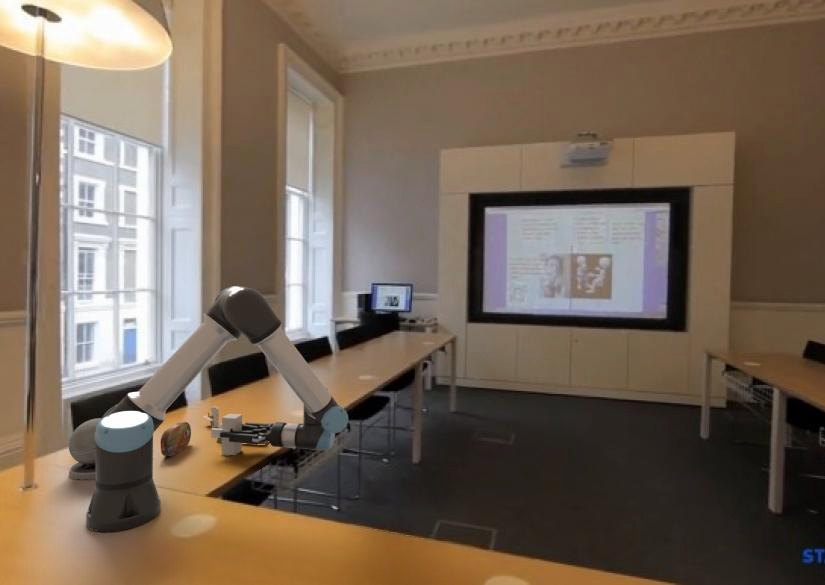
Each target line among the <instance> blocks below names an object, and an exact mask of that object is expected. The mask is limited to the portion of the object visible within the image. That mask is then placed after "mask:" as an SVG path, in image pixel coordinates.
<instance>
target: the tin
mask: <svg viewBox="0 0 825 585" xmlns="http://www.w3.org/2000/svg"><path fill="white" fill-rule="evenodd" d="M191 437H192V429H191V424H189V423H188V422H187V421H184V422H177V423H175V424H173V425H172V426H171V427H170V428H168V429H166V430H164V431H163V433H162V435H161V438H160V452H161V455H162V456H164V457H175V456H176V455H178V454H179V453H181V450H184V449H185V447H186V448H187V447H188V446H189V443H190V441H191ZM177 453H178V454H177Z"/></svg>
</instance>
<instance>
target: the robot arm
mask: <svg viewBox="0 0 825 585" xmlns="http://www.w3.org/2000/svg"><path fill="white" fill-rule="evenodd" d="M282 326H283V322H282V321H281V320H280V318H279V317H278V316H277V314H276V313H275V311H274V310H273V308H272V307H271V305H270V303H269V302H268V300H267V299H266V298H265V296H264V295H263V294H262V293H261V292H260V291H258V290H256V289H254V288H251V287H247V286H246V287H245V286H241V285H234V286H229V287H227V288H225V289H223V290H222V291H220V292H219V293H218V294H217V296H216V297H215V299H214V302H213V304H211V305H210V307H209V308H207V310H206V311H205V312H204V313H203V321H202V323H201V324H200V325H199V326H198V327H197V328H196V330H194V332H193V333H192V334H191V335H190V336H189V337H188V338H187V339H186V340H185V341H184V342H183V343H182V344H181V345H180V346H179V347H178V348H177V350H176V351H174V353H173V354H172V355H171V356H170V357H169V358H168V359H167V360H166V362H165V363H163V365H161V367H160V368H158V370H157V371H156V372H155V373H154V374H153V375H152V376H151V377H150V378H149V379H148V380H147V382H146V383H145V384H143V386H142V387H141V388H139V390H138V391H133V392H128V393H127V394H126V395H125V396H124V397H123V398H122V399H121V400H120V402H118V404H115V405H114V406H112V407H111V408H109V409H108V410H107V411H106V412H105V413H104V414H103V416H102V417H101V418H102V419H101V420H100V421H99V423H98V424H97V427H96V432H95V441H96V479H95V488H94V491H93V495H92V497H91V500H90V503H89V506H88V508H87V511H86V514H85V516H86V517H85V518H86V519H85V524H86V527H87V526H88V527H89V528H91V529H93V530H92V531H94V530H97V531H96V532H99V531H105V532H104V533H107V532H106V531H114V532H119V531H118V530H121V531H125V530H126V531H127V530H130V529H134V528H136V527H139V526H142V525H143V524H146V523H148V522H150V521H151V520H153V519H154V518H156V516H158V515H159V514H160V512H161V508H162V507H161V505H162V504H161V503H162V502H161V497H160V495H159V493H158V490H157V487H156V484H155V481H154V475H153V471H154V433H155V432H156V430H157V429H159V427H160V426H161V425H162V424H163V423H164V421H165V420H166V411H167V409H168V408H169V407H170V406H171V405H172V404H173V403H174V402H175V401H176V400H177V399H178V397H179V396H180V395H181V394H183V392H184V391H185V390H186V389H187V388H188V387H189V385H190V384H191V383H192V382H193V381H194V380H195V378H196V377H198V376H199V374H200V373H201V372H202V371H203V370H204V369H205V367H207V365H209V363H210V362H211V361H212V360H213V359H214V358H215V357H216V356H217V355H218V354H219V353H220V351H221V350H222V349H223V348H224V347H225V345H226V344H228V342H233V341H234V342H235V341H237V340H238V339H239V338H240V337H241V336H242V335H243V336H244V337H245V338H246V339H247V340H248V341H249V342H250V344H251V346H258V348H259V349H260V350H261V352H262V353H263V354H264V355H265V357H266V359H268V361H269V362H270V363H271V364H272V365H273V366H274V368H275V369H276V370H277V372H278V373H279V375H280V376H281V377H282V378H283V379H284V380H285V382H286V383H287V385H288V386H289V387H290V389H291V390H292V391H293V392H294V394H295V395H296V396H297V397H298V399H299V400H300V401H301V403H302V404H303V420H302V421H303V423H300V422H299V423H297V422H288V423H286V422H280V421H277V422H274V423H260V422H247V421H246V422H244V423H242V431H233V429H222V422H221V423H219V426H220V429H218V428H214V427H211V428H210V429H211V434H210V438H214V439H216V438H217V439H218V438H227V439H229V442H239V443H251V444H256V445H255V446H258V445H257V444H259V441H261V442H266V441H269V442H268V443H270V445H271V447H272V448H273V447H274V448H283V447H284V448H289V449H292V450H296V449H305V450H313V451H329V450H331V449H332V448H333V446H334V443H335V438H336V434H337V433H338V434H339V433H340V432H342V431H343V430H344V429H345V428H346V427H347V425H348V423H349V415H348V413H347V411H346V410H345V409H344V407H343V406H341V405H339V404H338V403H337V402H338V401H336V400H335V398H334V397H333V396H332V395H331V393H330V392H329V389H328V388H327V387H326V386H325V384H324V383H323V382H322V381H321V380H320V378H319V377H318V376H317V373H315V372H314V370H313V369H312V368H311V366H310V365H309V364H308V362H307V361H306V360H305V358H304V357H303V355H302V354H301V352H300V351H298V349H297V348H296V346H295V345H294V344H293V342H292V341H291V340H290V339H289V337H288V335H286V333H285V332H284V330H283V328H282ZM88 527H87V528H88ZM89 528H88V529H89ZM91 529H90V530H91Z"/></svg>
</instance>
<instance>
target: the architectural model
mask: <svg viewBox="0 0 825 585" xmlns="http://www.w3.org/2000/svg"><path fill="white" fill-rule="evenodd" d="M211 406H212V407H210V412H211V414H210V412H207V415H202V419H205V420H206V421H208V422H210V425H211V427H212V426H214V427H218V426H220V423H219V421H220V420H219V418H220V409H219V407H216V406H214V405H211ZM214 427H213V428H214Z"/></svg>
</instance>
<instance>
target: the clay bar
mask: <svg viewBox="0 0 825 585" xmlns="http://www.w3.org/2000/svg"><path fill="white" fill-rule="evenodd" d="M221 423H222V429H233V431H242V424H243V414H239V413H238V414H237V413H228V414H226V415H224V416H222V417H221ZM242 446H243V444H242V443H239V442H229V439H227V438H222V443H221V456H229V455H235V456H237V455H238V454H239V453H241V452H242V451H241V450H242V448H243V447H242ZM240 451H241V452H240ZM237 453H238V454H237ZM236 454H237V455H236Z"/></svg>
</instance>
